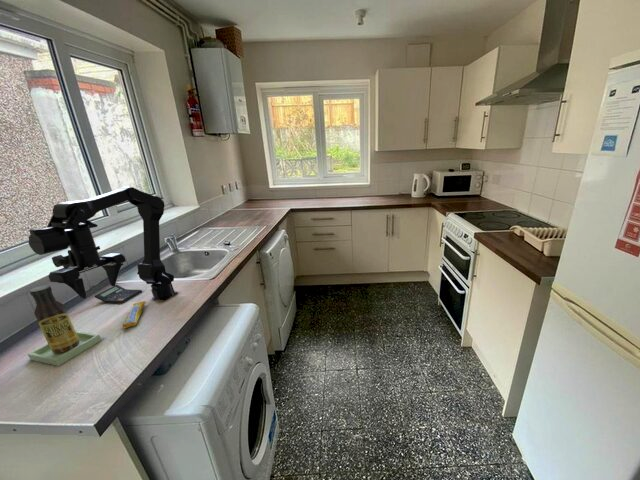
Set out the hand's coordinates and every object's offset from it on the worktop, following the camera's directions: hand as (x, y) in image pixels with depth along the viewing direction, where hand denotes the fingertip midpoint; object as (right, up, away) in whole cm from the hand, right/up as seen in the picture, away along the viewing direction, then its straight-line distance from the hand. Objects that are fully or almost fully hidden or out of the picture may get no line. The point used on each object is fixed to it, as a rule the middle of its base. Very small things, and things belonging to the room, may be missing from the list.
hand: (99, 291), depth 91 cm
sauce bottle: (-4, -16, -6) cm, 18 cm away
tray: (-5, -17, -6) cm, 18 cm away
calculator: (-13, -5, +25) cm, 28 cm away
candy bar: (+4, -10, +10) cm, 15 cm away
